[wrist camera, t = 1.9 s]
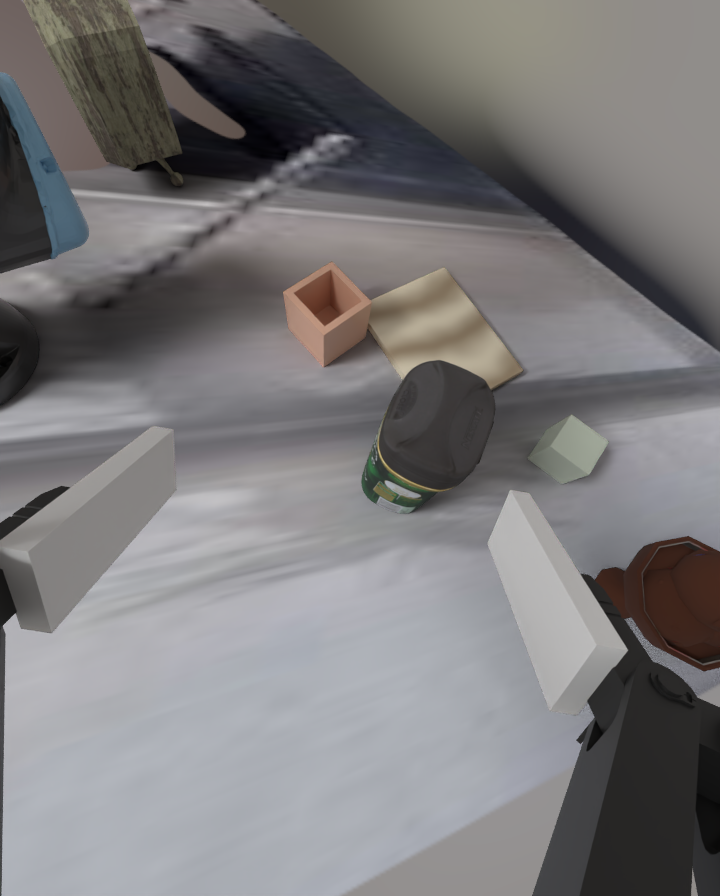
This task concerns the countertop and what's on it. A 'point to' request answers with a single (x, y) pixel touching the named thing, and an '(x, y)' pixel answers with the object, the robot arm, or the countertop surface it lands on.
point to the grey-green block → (568, 450)
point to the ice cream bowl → (672, 598)
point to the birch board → (438, 330)
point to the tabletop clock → (109, 78)
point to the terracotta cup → (327, 313)
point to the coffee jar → (428, 436)
